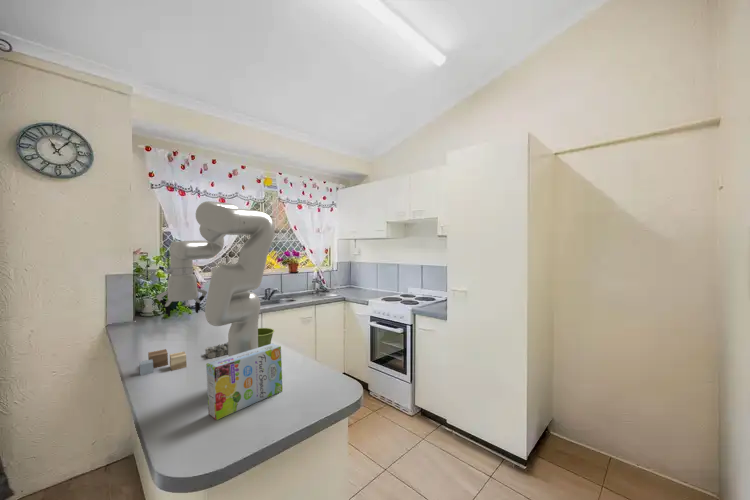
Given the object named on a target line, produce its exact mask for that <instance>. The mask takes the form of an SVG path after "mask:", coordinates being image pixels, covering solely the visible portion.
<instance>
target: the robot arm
mask: <svg viewBox="0 0 750 500" xmlns="http://www.w3.org/2000/svg"><path fill="white" fill-rule="evenodd" d="M195 210H196V211H195V220H196V222H197V223H198V225H200V226H199V233H200V235H201V237H202V238H203V239H204V240H181V241H173V242H171V243H170V247H169V249H170V250H169V251H170V252H169V254H170V255H169V256H170V268H169V269H166V274H170V275H169V276H168V280H167V290H165V291H163V292H161V293H159V294H158V295H156V299H157V300H158V301H159V303H160V304H161V305H162V306H164V308H165V310H164V311H165V315H167V317H171V303H172V302H182V301H192V300H194V301H195V302H194V307H195V309H194V310H195V313H197V314H198V313H199V311H200V310H201V306H200V305H201V302H202V301H203V300H204V299H205V297H206V301H205V309H204V310H205V311H204V314H205V319H206V321H207V323H209V325H210V326H213V327H221V326H226V325H229V324H231V325H230V327H229V330H228V334H227V342H228V354H227V355H228V357H229V356H233V355H236V354H239V353H243V352H246V351H249V350H252V349H256V348H258V328H259V318H260V313H261V300H260V298H259V296H258V295H257V294H256V293H254V292H253V291H255V290H257V289H258V288H260V285H261V283H262V280H263V275H264V271H265V267H266V264H267V258H268V254H269V251H270V249H271V246H272V244H273V241H274V237H275V225H274V221H273V219H272V218H271V216H270V215H269V214H267V213H266V212H263V211H261V210H256V209H247V208H240V207H238V206H237V205H235V204H232V203H227V202H220V201H219V202H217V201H210V200H207V201H204V202H202V203H200V204H199V205H198V206H197V208H196V209H195ZM225 236H250V237H249V238H248V239H247V240H246V241H245V242H244V244H243V245H242V247H241V249H240V251H239V256H238V260H237V262H236V263H229V264H223V265H220V266H218V267H217V268H215V270H214V271H213V273H212V275H211V276H210V281H209V287H208V291H207V290H205V289H201V288H199V287H198V282H197V276H196V274H194V266H193V265H194V263H193V261H196V260H209V259H212V258H214V257H215V256H217V255H218V254H219V253H220V252H221V251H222V250H223V249H224V244H225ZM199 293H201V295H200V296H199V298H198V295H199ZM166 295H167V300H166V301H165V300H163V297H165V296H166ZM206 295H207V296H206Z"/></svg>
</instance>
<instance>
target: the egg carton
mask: <svg viewBox="0 0 750 500" xmlns="http://www.w3.org/2000/svg"><path fill="white" fill-rule="evenodd" d="M204 351H205V357H207V358H208V359H216V357H217V358H218V357H222V356H225V355H229V354H228V341H227V342H225V343H221V344H217V345H214V346H207V347H206V348H205V349H204Z"/></svg>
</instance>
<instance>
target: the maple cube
mask: <svg viewBox="0 0 750 500" xmlns="http://www.w3.org/2000/svg"><path fill="white" fill-rule="evenodd" d="M169 367H170V370H171V371H175V370H176V371H177V370H181V369H185V368H188V367H187V354H186V352H185V351H180V352H179V351H178V352H175V353H170V354H169Z"/></svg>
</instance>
